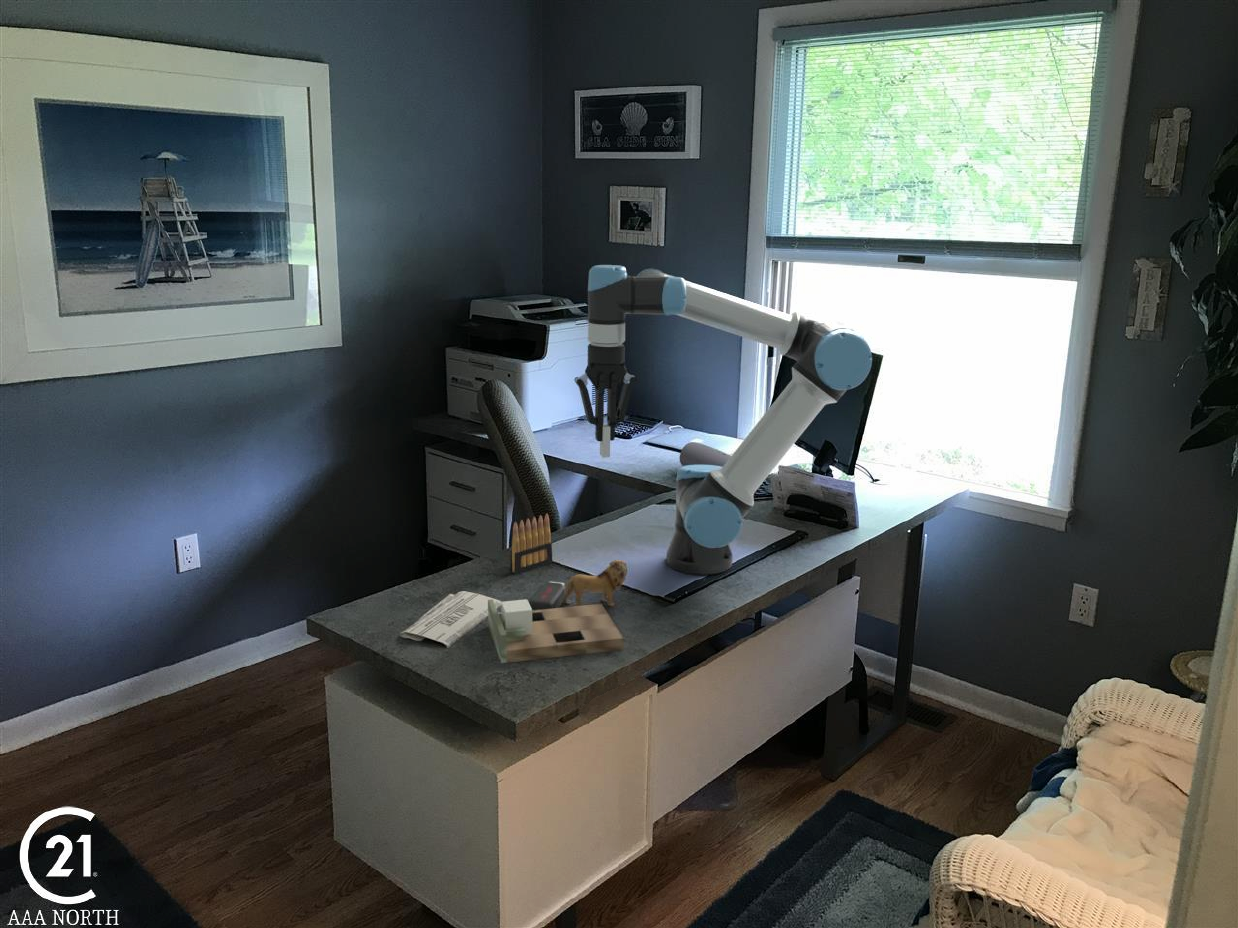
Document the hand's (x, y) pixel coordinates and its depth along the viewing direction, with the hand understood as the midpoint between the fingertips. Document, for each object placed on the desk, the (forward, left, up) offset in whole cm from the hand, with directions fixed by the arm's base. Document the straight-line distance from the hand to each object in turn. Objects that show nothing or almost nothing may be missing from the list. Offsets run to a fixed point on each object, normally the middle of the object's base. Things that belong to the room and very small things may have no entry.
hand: (604, 455), depth 211 cm
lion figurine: (+4, +8, -30) cm, 31 cm away
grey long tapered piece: (-50, -66, -30) cm, 88 cm away
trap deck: (+16, +22, -29) cm, 40 cm away
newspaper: (+34, +9, -30) cm, 47 cm away
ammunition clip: (+13, -14, -30) cm, 35 cm away
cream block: (+23, +22, -27) cm, 42 cm away
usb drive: (+13, +4, -30) cm, 33 cm away
